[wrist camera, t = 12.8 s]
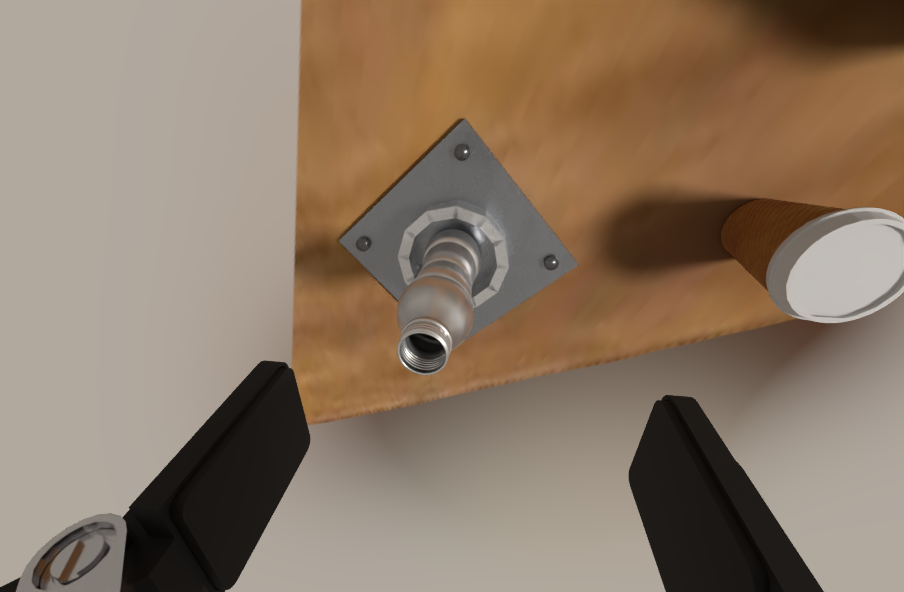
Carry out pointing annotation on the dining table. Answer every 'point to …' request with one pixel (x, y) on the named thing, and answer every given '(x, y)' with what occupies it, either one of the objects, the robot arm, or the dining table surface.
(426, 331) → the plastic bottle
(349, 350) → the dining table surface
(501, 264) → the duct flange
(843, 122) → the dining table surface
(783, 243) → the disposable coffee cup
